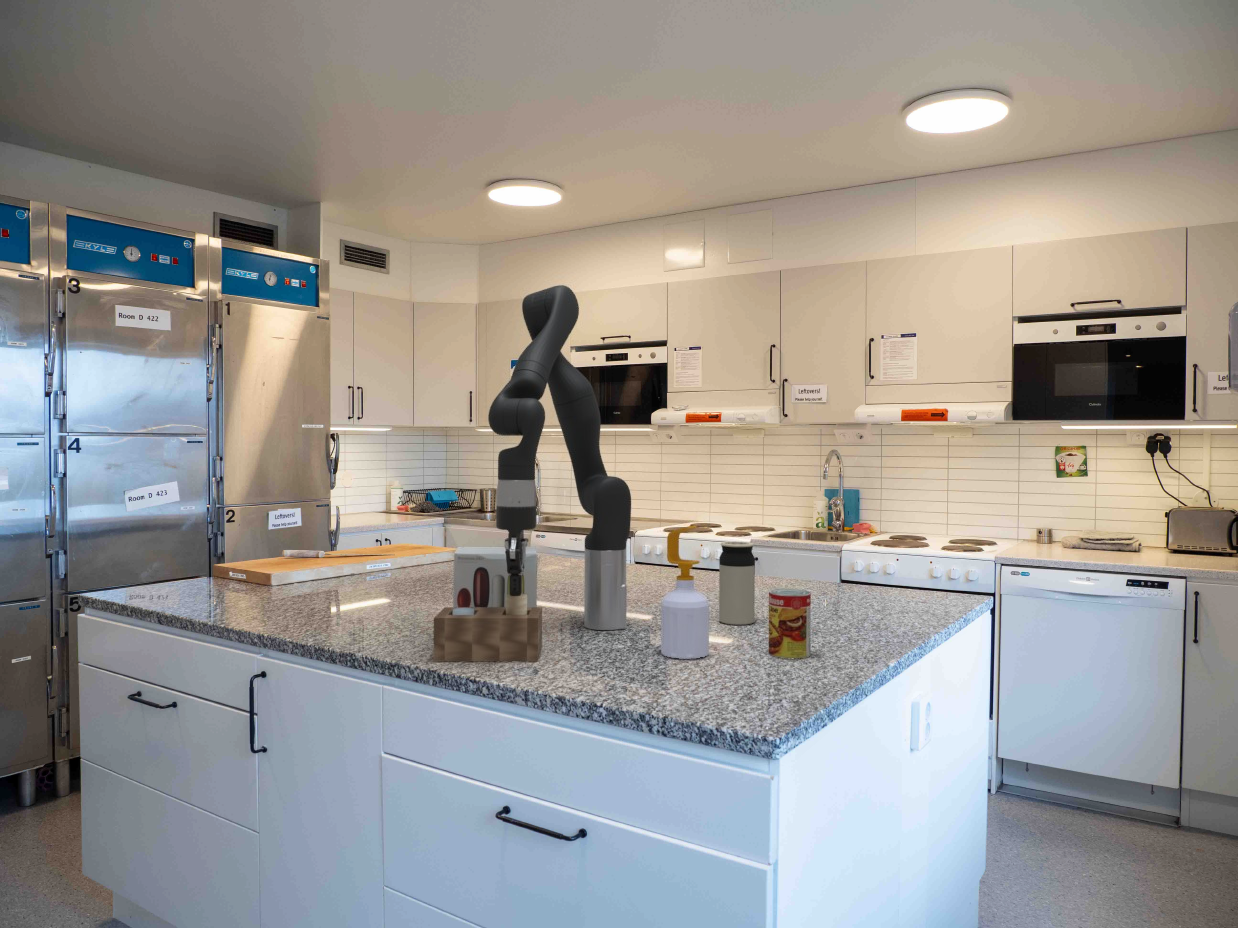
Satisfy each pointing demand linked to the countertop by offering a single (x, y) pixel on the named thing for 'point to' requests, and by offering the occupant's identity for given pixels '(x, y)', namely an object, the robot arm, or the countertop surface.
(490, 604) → the supplement box
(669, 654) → the soap bottle
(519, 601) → the birch peg
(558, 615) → the countertop surface
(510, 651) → the walnut block
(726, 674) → the countertop surface
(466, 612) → the blue-grey peg
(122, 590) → the countertop surface
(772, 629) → the canned food
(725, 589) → the travel mug
